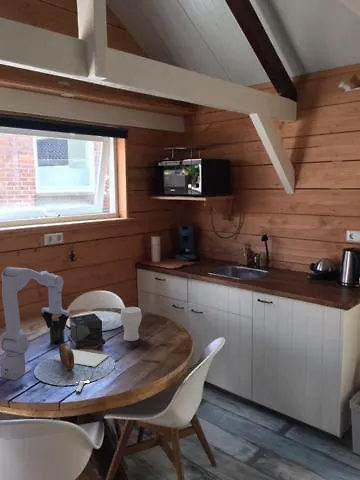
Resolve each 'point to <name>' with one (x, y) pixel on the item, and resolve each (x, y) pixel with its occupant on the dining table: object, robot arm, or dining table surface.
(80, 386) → the y-shaped peeler
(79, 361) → the board
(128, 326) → the cup
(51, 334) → the supplement bottle
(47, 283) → the robot arm
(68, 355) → the tin
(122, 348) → the dining table surface
